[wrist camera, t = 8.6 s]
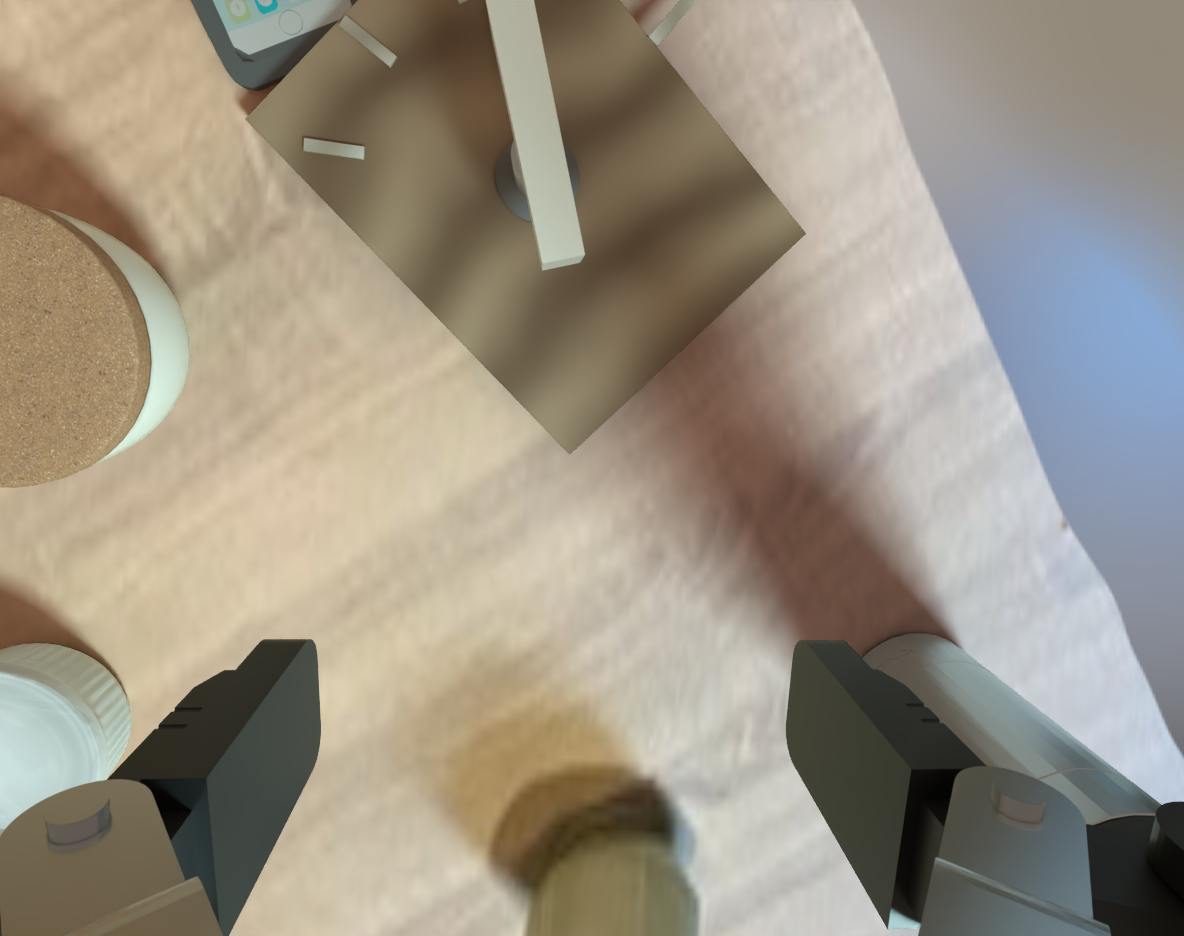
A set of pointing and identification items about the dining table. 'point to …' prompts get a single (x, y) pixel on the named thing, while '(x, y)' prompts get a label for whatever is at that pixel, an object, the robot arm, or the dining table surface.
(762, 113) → the dining table surface
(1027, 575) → the dining table surface
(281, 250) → the dining table surface
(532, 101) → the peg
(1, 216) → the lidded bowl
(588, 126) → the tuner board
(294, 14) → the smartphone
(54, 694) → the ramekin
